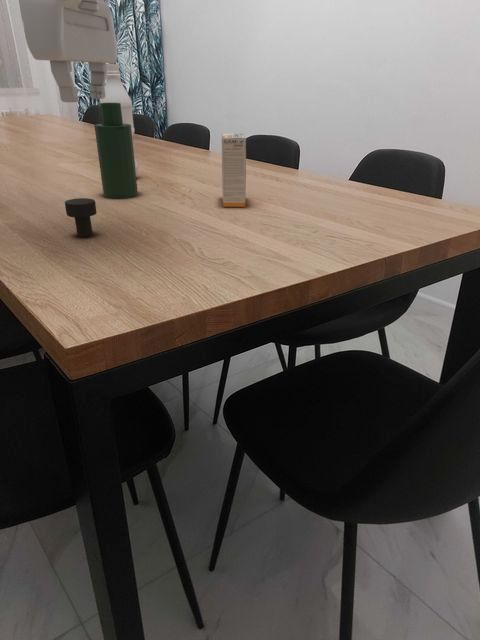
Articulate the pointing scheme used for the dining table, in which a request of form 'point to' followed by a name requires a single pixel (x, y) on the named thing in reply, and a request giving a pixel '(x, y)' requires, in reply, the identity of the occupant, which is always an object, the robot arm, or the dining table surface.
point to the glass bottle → (115, 153)
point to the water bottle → (119, 97)
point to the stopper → (81, 214)
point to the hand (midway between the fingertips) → (84, 100)
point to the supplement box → (234, 170)
